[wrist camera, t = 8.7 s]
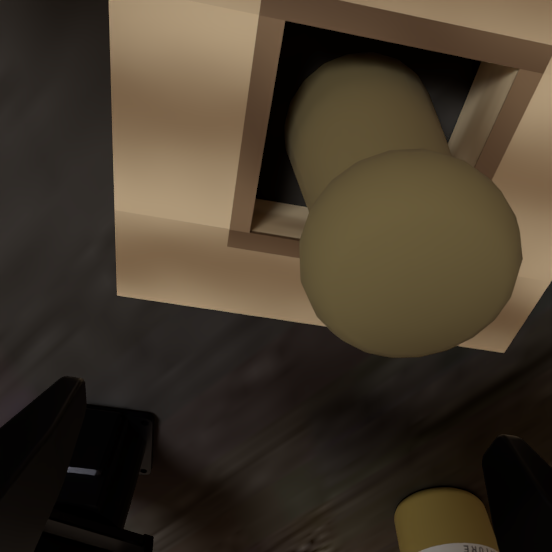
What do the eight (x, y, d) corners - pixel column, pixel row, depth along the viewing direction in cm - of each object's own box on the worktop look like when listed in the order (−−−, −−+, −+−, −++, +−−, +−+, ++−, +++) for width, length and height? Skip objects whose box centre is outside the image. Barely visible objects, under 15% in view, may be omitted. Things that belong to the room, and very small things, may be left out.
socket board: (482, 311, 24) (504, 353, 22) (135, 257, 23) (116, 296, 20) (696, -59, 15) (776, -60, 13) (136, -193, 14) (102, -224, 11)
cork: (292, 43, 17) (299, 154, 8) (453, 60, 17) (630, 188, 8) (276, 192, 21) (269, 384, 12) (410, 205, 21) (503, 403, 12)
